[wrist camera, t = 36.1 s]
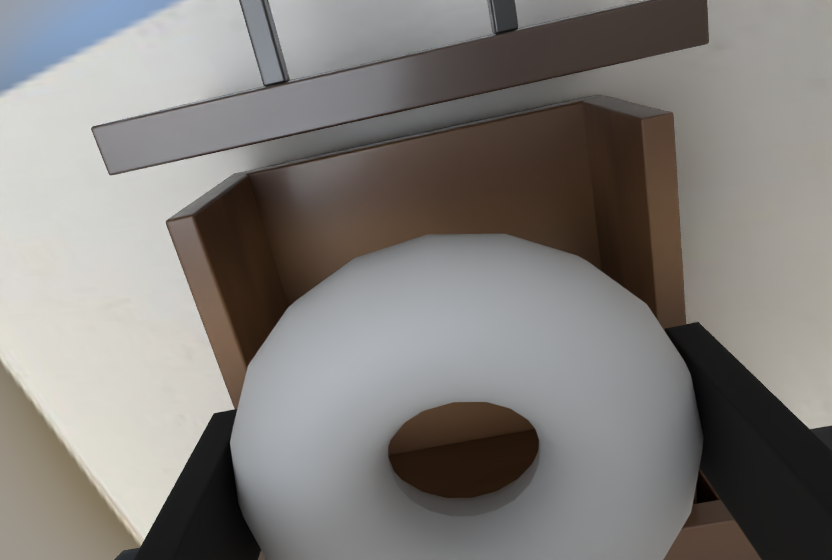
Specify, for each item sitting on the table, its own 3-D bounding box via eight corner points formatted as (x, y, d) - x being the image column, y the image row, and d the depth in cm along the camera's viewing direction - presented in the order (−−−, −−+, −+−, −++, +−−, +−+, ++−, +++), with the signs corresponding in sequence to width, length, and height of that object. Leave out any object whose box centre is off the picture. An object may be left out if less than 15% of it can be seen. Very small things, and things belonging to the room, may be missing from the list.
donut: (356, 132, 13) (193, 490, 16) (338, 156, 9) (137, 604, 12) (747, 326, 14) (532, 618, 17) (848, 405, 11) (561, 749, 14)
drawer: (120, -104, 19) (-33, -184, 12) (592, -225, 18) (693, -380, 11) (310, 468, 26) (277, 603, 20) (648, 407, 25) (728, 529, 19)
